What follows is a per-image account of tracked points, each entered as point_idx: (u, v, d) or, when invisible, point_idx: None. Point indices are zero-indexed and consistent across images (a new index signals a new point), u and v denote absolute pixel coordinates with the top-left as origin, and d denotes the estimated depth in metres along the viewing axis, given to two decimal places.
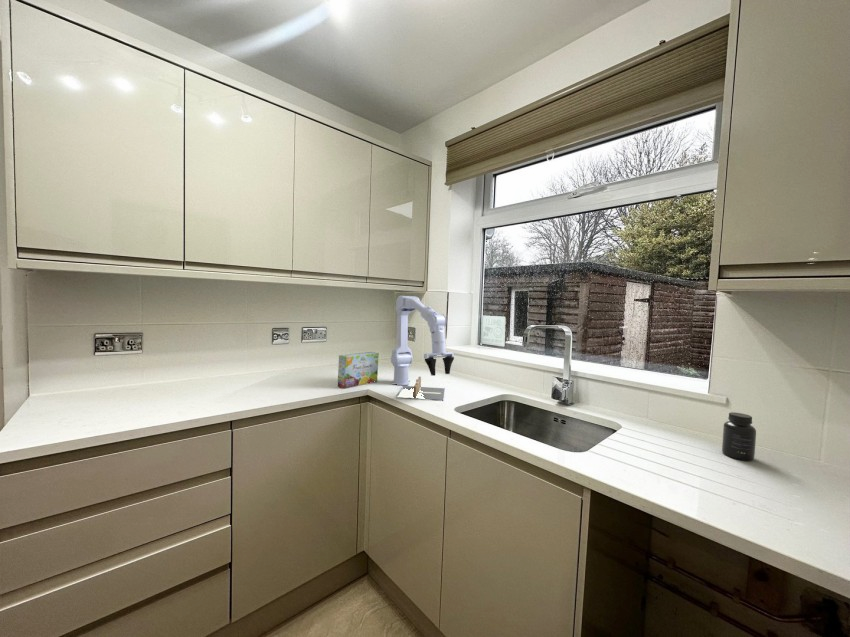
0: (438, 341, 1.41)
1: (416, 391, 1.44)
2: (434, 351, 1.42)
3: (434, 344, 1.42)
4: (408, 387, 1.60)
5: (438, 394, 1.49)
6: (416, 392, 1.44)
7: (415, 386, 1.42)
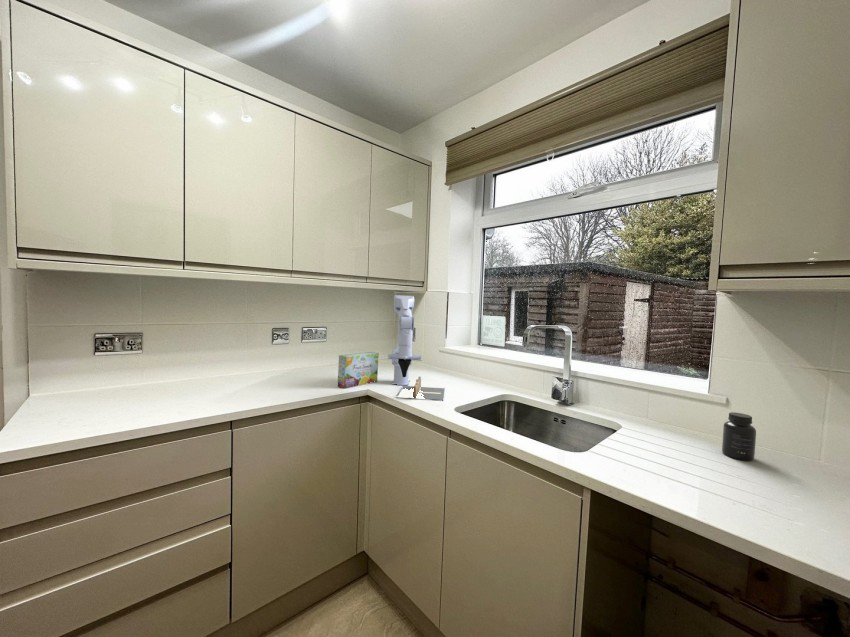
0: (401, 344, 1.41)
1: (416, 391, 1.44)
2: (398, 353, 1.44)
3: (398, 346, 1.43)
4: (408, 387, 1.60)
5: (438, 394, 1.49)
6: (416, 392, 1.44)
7: (415, 386, 1.42)
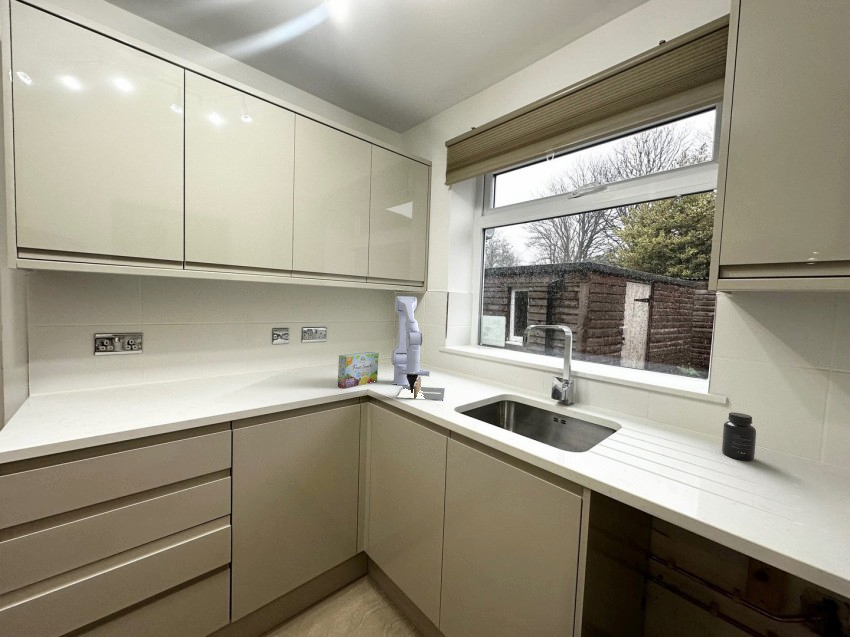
0: (410, 360, 1.41)
1: None
2: (406, 368, 1.44)
3: (406, 362, 1.43)
4: (408, 387, 1.60)
5: (438, 394, 1.49)
6: None
7: (415, 386, 1.42)
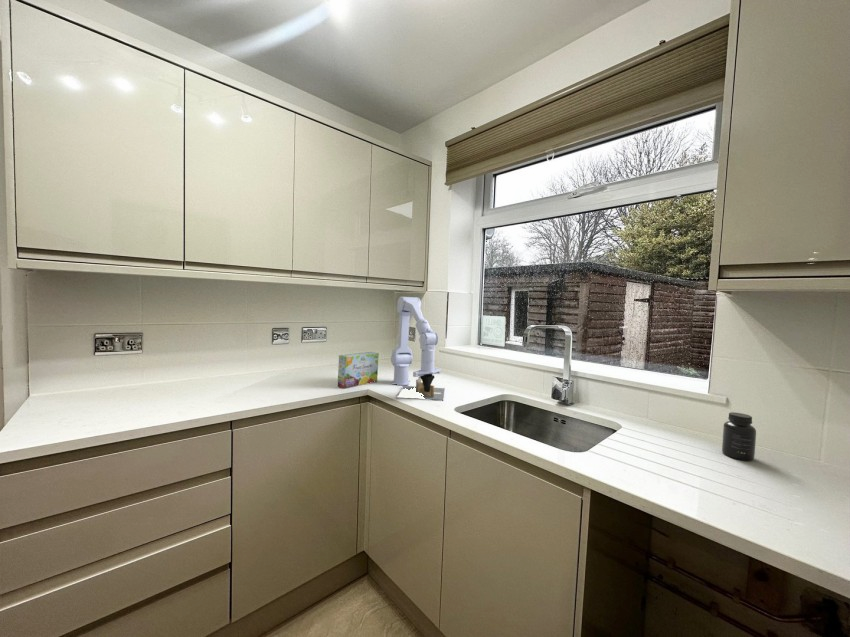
0: (426, 360, 1.42)
1: None
2: (423, 369, 1.43)
3: (424, 362, 1.42)
4: (408, 387, 1.60)
5: (438, 394, 1.49)
6: None
7: (432, 385, 1.45)
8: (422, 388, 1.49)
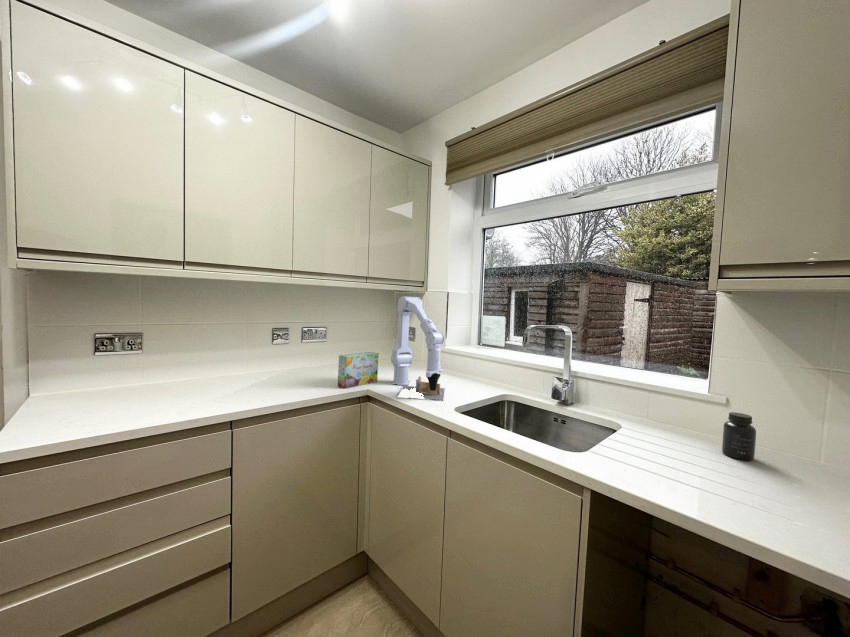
0: (434, 359, 1.45)
1: None
2: (432, 369, 1.45)
3: (433, 362, 1.45)
4: (408, 387, 1.60)
5: None
6: None
7: None
8: (425, 387, 1.50)
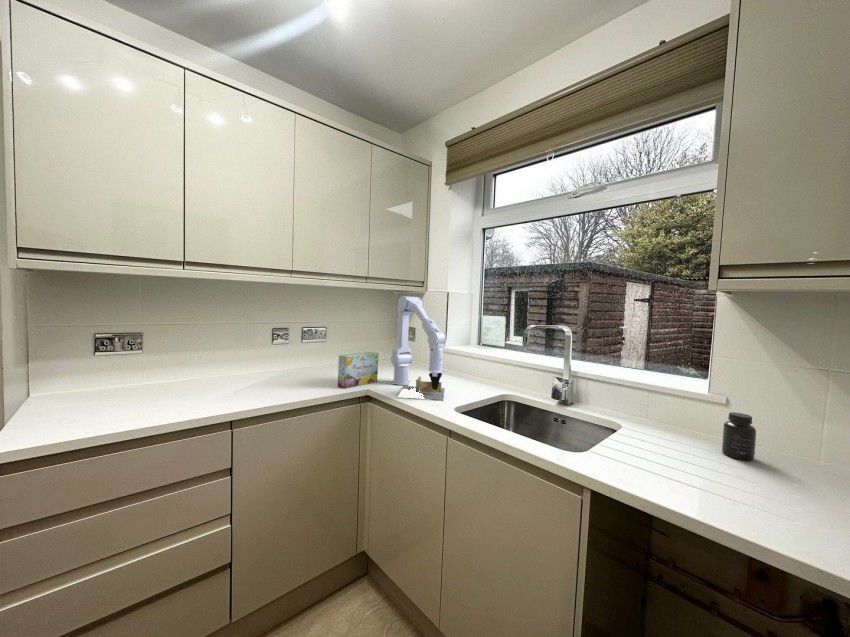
0: (436, 359, 1.46)
1: None
2: (436, 368, 1.47)
3: (437, 361, 1.47)
4: (408, 387, 1.60)
5: (438, 394, 1.49)
6: None
7: (439, 382, 1.51)
8: (426, 387, 1.51)
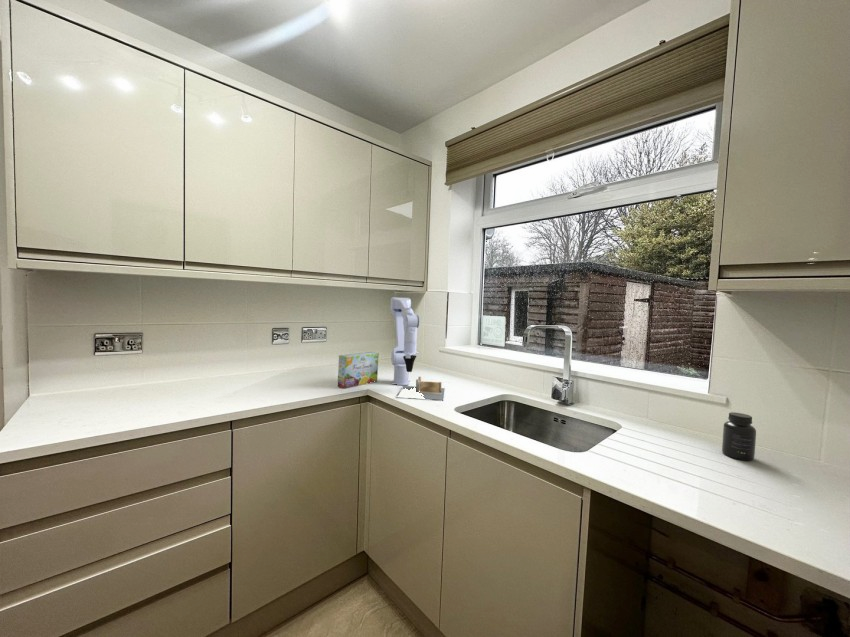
0: (408, 341, 1.50)
1: None
2: (410, 350, 1.50)
3: (411, 344, 1.49)
4: (408, 387, 1.60)
5: (438, 394, 1.49)
6: None
7: (439, 382, 1.51)
8: (426, 387, 1.51)
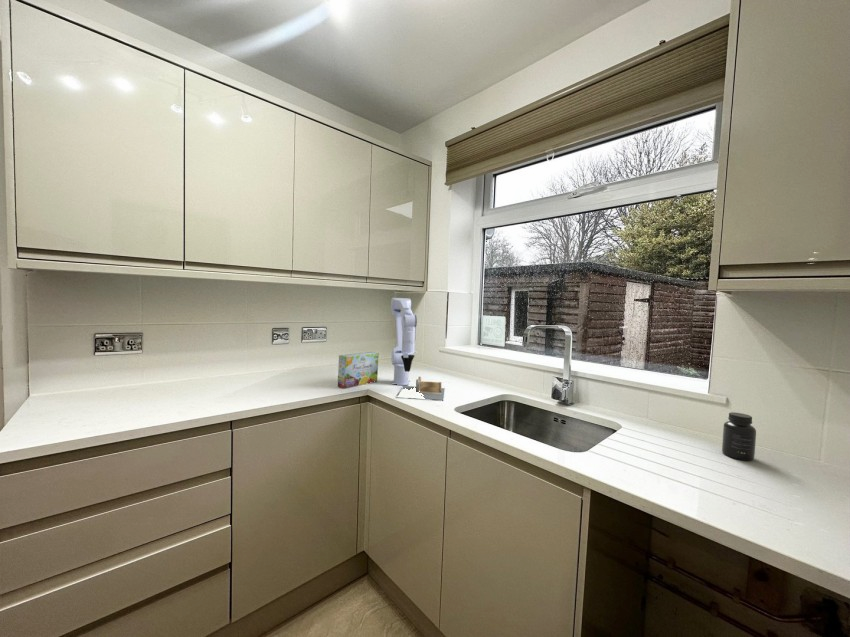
0: (405, 341, 1.50)
1: None
2: (408, 350, 1.50)
3: (409, 343, 1.50)
4: (408, 387, 1.60)
5: (438, 394, 1.49)
6: None
7: (439, 382, 1.51)
8: (426, 387, 1.51)
